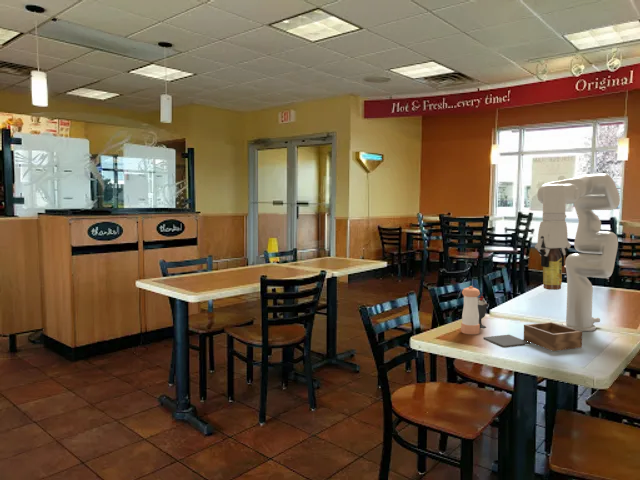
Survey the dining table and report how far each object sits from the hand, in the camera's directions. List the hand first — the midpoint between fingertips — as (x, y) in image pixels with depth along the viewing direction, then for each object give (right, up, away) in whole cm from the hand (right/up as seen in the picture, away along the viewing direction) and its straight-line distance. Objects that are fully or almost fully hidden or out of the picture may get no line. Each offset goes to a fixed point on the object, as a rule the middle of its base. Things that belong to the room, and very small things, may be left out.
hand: (552, 265), depth 178 cm
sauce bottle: (0, -9, +1) cm, 9 cm away
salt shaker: (-25, -29, +19) cm, 42 cm away
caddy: (+1, -29, +2) cm, 30 cm away
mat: (-15, -29, +6) cm, 33 cm away
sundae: (-18, -28, +28) cm, 43 cm away
